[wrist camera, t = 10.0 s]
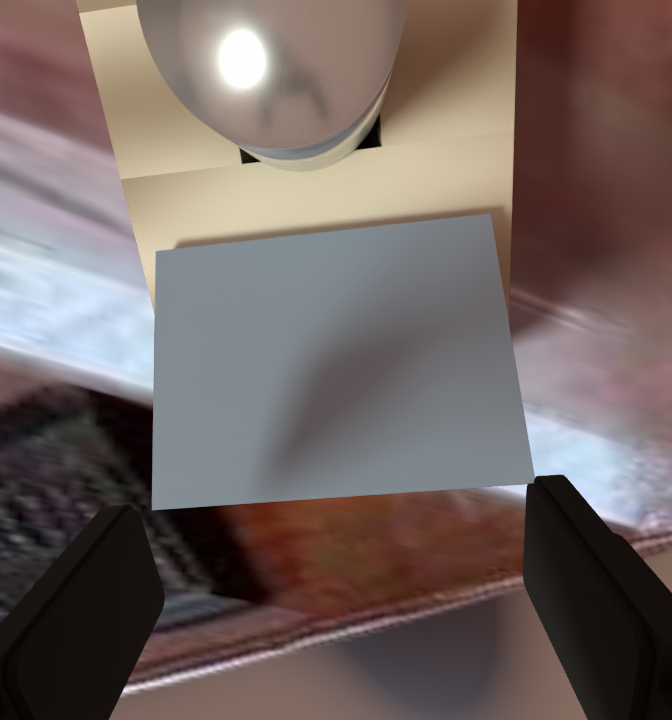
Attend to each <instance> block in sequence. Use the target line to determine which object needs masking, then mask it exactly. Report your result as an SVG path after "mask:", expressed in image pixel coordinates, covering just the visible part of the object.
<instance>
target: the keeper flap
mask: <svg viewBox="0 0 672 720" xmlns="http://www.w3.org/2000/svg"><path fill="white" fill-rule="evenodd" d="M534 479H535V476H534V470H533V464H532V458H531V452H530V446H529V440H528V434H527V428H526V422H525V416H524V410H523V404H522V398H521V393H520V387H519V381H518V375H517V369H516V363H515V357H514V351H513V345H512V339H511V333H510V327H509V321H508V315H507V309H506V303H505V297H504V291H503V285H502V279H501V273H500V267H499V261H498V256H497V250H496V244H495V238H494V232H493V226H492V220H491V214H482V215H473V216H464V217H455V218H446V219H437V220H428V221H419V222H411V223H402V224H393V225H384V226H375V227H366V228H357V229H348V230H339V231H330V232H321V233H312V234H303V235H294V236H286V237H277V238H268V239H259V240H250V241H241V242H232V243H223V244H214V245H205V246H196V247H187V248H178V249H169V250H161V251H156V260H155V331H154V402H153V473H152V510H160V509H174V508H189V507H203V506H218V505H232V504H247V503H261V502H275V501H290V500H304V499H319V498H333V497H348V496H362V495H377V494H391V493H405V492H420V491H434V490H449V489H463V488H478V487H492V486H507V485H521V484H529V483H534Z"/></svg>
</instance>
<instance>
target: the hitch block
mask: <svg viewBox="0 0 672 720" xmlns="http://www.w3.org/2000/svg"><path fill="white" fill-rule="evenodd" d="M76 2H77V6H78V10H79V14H80V18H81V22H82V26H83V30H84V34H85V38H86V42H87V46H88V50H89V54H90V58H91V62H92V66H93V70H94V74H95V78H96V82H97V86H98V90H99V94H100V98H101V102H102V106H103V110H104V114H105V118H106V122H107V126H108V130H109V134H110V138H111V142H112V146H113V150H114V154H115V158H116V162H117V166H118V170H119V174H120V178H121V182H122V186H123V190H124V194H125V198H126V202H127V206H128V210H129V214H130V218H131V222H132V226H133V230H134V234H135V238H136V242H137V246H138V250H139V254H140V258H141V262H142V266H143V270H144V274H145V278H146V282H147V286H148V290H149V294H150V298H151V302H152V306H153V310H154V314H155V260H156V251H161V250H169V249H178V248H187V247H196V246H205V245H214V244H223V243H232V242H241V241H250V240H259V239H268V238H277V237H286V236H294V235H303V234H312V233H321V232H330V231H339V230H348V229H357V228H366V227H375V226H384V225H393V224H402V223H411V222H419V221H428V220H437V219H446V218H455V217H464V216H473V215H482V214H491V220H492V226H493V232H494V238H495V244H496V250H497V256H498V261H499V267H500V273H501V279H502V285H503V291H504V297H505V303H506V309H507V315H508V321H509V307H510V268H511V230H512V192H513V153H514V115H515V76H516V38H517V0H408V2H407V10H406V19H405V23H404V28H403V32H402V36H401V41H400V44H399V48H398V51H397V55H396V59H395V62H394V66H393V70H392V73H391V77H390V80H389V84H388V88H387V91H386V95H385V99H384V102H383V105H382V108H381V111H380V114H379V116H378V118H377V120H376V122H375V124H374V126H373V128H372V129H371V145H372V148H368V149H360V150H354V151H353V152H352V153H351V154H349V155H348V156H347V157H345V158H344V159H342V160H341V161H339V162H337V163H335V164H333V165H331V166H329V167H326V168H323V169H320V170H315V171H310V172H292V171H285V170H281V169H277V168H274V167H272V166H269V165H267V164H265V163H263V162H261V161H259V160H258V159H256V158H254V157H253V156H251V155H250V154H248V153H247V152H245V151H244V150H242V149H241V148H239V147H238V146H236V145H235V144H233V143H232V142H230V141H229V140H227V139H226V138H224V137H223V136H221V135H220V134H218V133H217V132H215V131H214V130H212V129H211V128H210V127H208V126H207V125H206V124H204V123H203V122H202V121H200V120H199V119H198V118H196V117H195V116H194V115H193V114H192V113H191V112H190V111H189V110H188V109H187V108H186V107H185V106H184V105H183V104H182V103H181V102H180V101H179V99H178V98H177V97H176V96H175V94H174V93H173V92H172V91H171V89H170V88H169V86H168V85H167V83H166V82H165V80H164V79H163V77H162V76H161V74H160V72H159V70H158V68H157V66H156V64H155V62H154V60H153V59H152V57H151V54H150V52H149V49H148V46H147V44H146V41H145V38H144V36H143V32H142V28H141V24H140V21H139V17H138V12H137V5H136V0H76Z"/></svg>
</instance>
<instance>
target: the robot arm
mask: <svg viewBox="0 0 672 720" xmlns="http://www.w3.org/2000/svg"><path fill="white" fill-rule="evenodd" d="M523 579H524V584H525V587H526V590H527V592H528V594H529V597H530V599H531V601H532V603H533V605H534V607H535V610H536V612H537V614H538V616H539V618H540V620H541V622H542V624H543V626H544V629H545V631H546V632H547V635H548V637H549V639H550V641H551V643H552V645H553V647H554V650H555V652H556V654H557V656H558V658H559V660H560V662H561V664H562V666H563V668H564V671H565V673H566V674H567V677H568V679H569V681H570V683H571V685H572V687H573V690H574V691H575V694H576V696H577V698H578V700H579V702H580V704H581V706H582V708H583V711H584V713H585V715H586V717H587V719H588V720H672V593H671V592H670V590H669V589H668V588H667V587H666V586H665V585H664V584H663V582H662V581H661V580H660V579H659V578H658V577H657V575H656V574H655V573H654V572H653V571H652V570H651V569H650V568H649V566H648V565H647V564H646V563H645V562H644V560H643V559H642V558H641V557H640V556H639V555H638V553H637V552H636V551H635V550H634V549H633V548H632V546H631V545H630V544H629V543H628V542H627V541H626V540H625V539H624V538H623V537H622V536H620V535H618V534H616V533H613V532H612V531H611V530H610V529H609V528H608V526H607V525H606V524H605V523H604V522H603V520H602V519H601V518H600V517H599V516H598V514H597V513H596V512H595V511H594V510H593V509H592V507H591V506H590V505H589V504H588V503H587V501H586V500H585V499H584V498H583V497H582V495H581V494H580V493H579V492H578V491H577V490H576V488H575V487H574V486H573V485H572V484H571V482H570V481H569V480H568V479H567V478H566V477H565V476H564V475H548V476H537V477H535V479H534V483H529V484H528V485H527V492H526V514H525V537H524V559H523ZM164 600H165V594H164V590H163V587H162V584H161V580H160V577H159V574H158V571H157V567H156V564H155V561H154V558H153V555H152V551H151V548H150V545H149V542H148V538H147V535H146V532H145V529H144V525H143V522H142V519H141V516H140V513H139V512H138V511H137V510H134V509H133V507H132V506H131V505H113V506H105V507H103V508H102V509H101V510H100V511H99V512H98V513H97V514H96V515H95V516H94V517H93V519H92V520H91V521H90V522H89V523H88V524H87V525H86V527H85V528H84V529H83V530H82V531H81V532H80V533H79V535H78V536H77V537H76V538H75V539H74V540H73V541H72V543H71V544H70V545H69V546H68V547H67V548H66V549H65V551H64V552H63V553H62V554H61V555H60V556H59V557H58V559H57V560H56V561H55V562H54V563H53V564H52V565H51V567H50V568H49V569H48V570H47V571H46V572H45V573H44V575H43V576H42V577H41V578H40V579H39V580H38V581H37V583H36V584H35V585H34V586H33V587H32V588H31V589H30V591H29V592H28V593H27V594H26V595H25V596H24V597H23V599H22V600H21V601H20V602H19V603H18V604H17V605H16V607H15V608H14V609H13V610H12V611H11V612H10V613H9V614H8V616H7V617H6V618H5V619H4V620H3V621H2V622H1V624H0V720H109V718H110V716H111V714H112V711H113V710H114V708H115V706H116V703H117V701H118V699H119V697H120V695H121V693H122V691H123V689H124V687H125V685H126V683H127V681H128V679H129V677H130V675H131V673H132V671H133V669H134V667H135V665H136V663H137V661H138V658H139V656H140V654H141V652H142V650H143V648H144V646H145V644H146V642H147V640H148V638H149V636H150V634H151V632H152V630H153V628H154V626H155V624H156V622H157V620H158V618H159V616H160V613H161V611H162V609H163V606H164Z"/></svg>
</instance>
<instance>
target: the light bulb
mask: <svg viewBox="0 0 672 720" xmlns="http://www.w3.org/2000/svg"><path fill="white" fill-rule="evenodd" d="M407 2H408V0H136V5H137V12H138V17H139V21H140V24H141V28H142V32H143V36H144V38H145V41H146V44H147V46H148V49H149V52H150V54H151V57H152V59H153V60H154V62H155V64H156V66H157V68H158V70H159V72H160V74H161V76H162V77H163V79H164V80H165V82H166V83H167V85H168V86H169V88H170V89H171V91H172V92H173V93H174V94H175V96H176V97H177V98H178V99H179V101H180V102H181V103H182V104H183V105H184V106H185V107H186V108H187V109H188V110H189V111H190V112H191V113H192V114H193V115H194V116H195V117H196V118H198V119H199V120H200V121H202V122H203V123H204V124H206V125H207V126H208V127H210V128H211V129H212V130H214V131H215V132H217V133H218V134H220V135H221V136H223V137H224V138H226V139H227V140H229V141H230V142H232V143H233V144H235V145H236V146H238V147H239V148H241V149H242V150H244V151H245V152H247V153H248V154H250V155H251V156H253V157H254V158H256V159H258V160H259V161H261V162H263V163H265V164H267V165H269V166H272V167H274V168H277V169H281V170H285V171H292V172H310V171H315V170H320V169H323V168H326V167H329V166H331V165H333V164H335V163H337V162H339V161H341V160H342V159H344V158H345V157H347V156H348V155H349V154H351V153H352V152H353V151H354V150H355V149H356V148H357V147H358V146H359V145H360V144H361V143H362V142H363V140H364V139H365V138H366V137H367V135H368V134H369V132H370V131H371V129H372V128H373V126H374V124H375V122H376V120H377V118H378V116H379V114H380V111H381V108H382V105H383V102H384V99H385V95H386V91H387V88H388V84H389V80H390V77H391V73H392V70H393V66H394V62H395V59H396V55H397V51H398V48H399V44H400V41H401V36H402V32H403V28H404V23H405V19H406V10H407Z"/></svg>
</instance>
